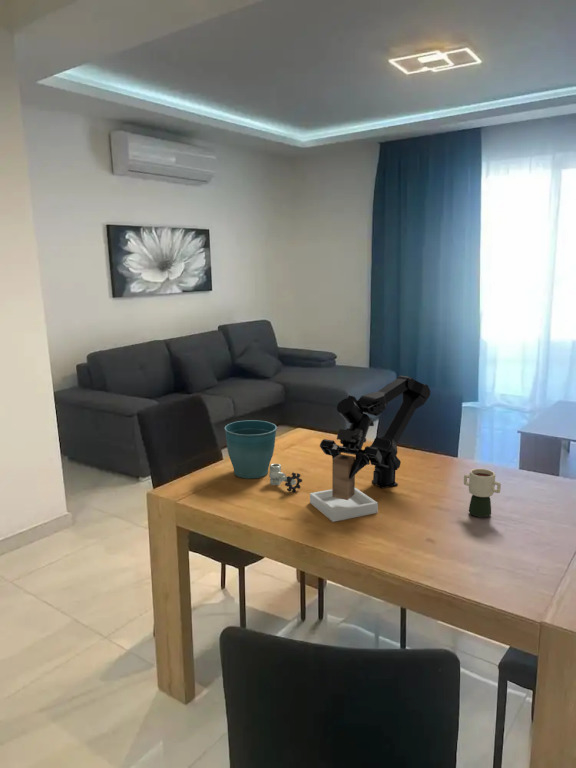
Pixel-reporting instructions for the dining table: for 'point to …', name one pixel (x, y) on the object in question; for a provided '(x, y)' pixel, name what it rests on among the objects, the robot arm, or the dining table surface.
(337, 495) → the walnut block
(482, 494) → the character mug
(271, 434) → the flower pot
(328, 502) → the tray
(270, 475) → the valve
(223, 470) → the dining table surface
